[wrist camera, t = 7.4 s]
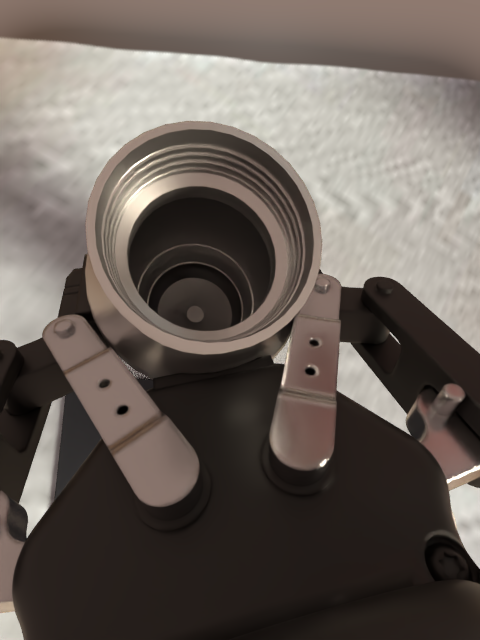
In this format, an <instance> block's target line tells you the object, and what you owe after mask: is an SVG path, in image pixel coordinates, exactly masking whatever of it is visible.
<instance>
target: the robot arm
mask: <svg viewBox="0 0 480 640" xmlns="http://www.w3.org/2000/svg"><path fill="white" fill-rule="evenodd" d="M86 261H87V254H86V255H85V257H84V262H83V268H79V269H74V270H73V271H72V272H71V273H70V274H69V276H68V277H67V278H66V283H65V288H64V291H63V296H62V300H61V305H60V309H59V314H58V318H57V319H55V320H53V321H51V322H50V323H49V324H48V325H47V326H46V327H45V329H44V330H43V334H42V338H40V339H38V340H36V341H34V342H31V343H29V344H26V345H24V346H21V347H18V348H17V347H16V346H15V344H14V343H12V342H11V341H7V340H0V613H6V612H13V611H15V613H16V615H17V618H18V621H19V623H20V626H21V629H22V633H23V637H24V640H480V569H479V568H478V566H477V565H476V564H475V563H474V561H473V560H472V559H471V557H470V556H469V554H468V553H467V551H466V550H465V548H464V546H463V544H462V542H461V539H460V537H459V534H458V532H457V529H456V526H455V523H454V519H453V515H452V510H451V505H450V496H449V491H450V490H452V489H455V488H457V487H459V486H461V485H464V484H466V483H467V484H469V485H471V486H474V487H478V488H480V354H479V353H478V352H477V351H476V350H475V349H473V348H472V347H471V346H470V345H469V344H468V343H467V342H466V341H464V340H463V339H462V338H461V337H460V336H459V335H458V334H456V333H455V332H454V331H453V330H452V329H451V328H450V327H448V326H447V325H446V324H445V323H444V322H443V321H442V320H441V319H439V318H438V317H437V316H436V315H435V314H434V313H433V312H431V311H430V310H429V309H428V308H427V307H426V306H425V305H424V304H422V303H421V302H420V301H419V300H418V299H417V298H416V297H414V296H413V295H412V294H411V293H410V292H409V291H408V290H407V289H405V288H404V287H403V286H402V285H401V284H400V283H398V282H397V281H395V280H393V279H390V278H386V277H373V278H370V279H368V280H367V281H366V282H365V284H364V287H363V288H349V287H342V286H341V284H340V282H339V281H338V280H337V279H336V278H334V277H332V276H330V275H326V274H323V273H322V272H321V270H320V269H319V272H318V275H317V278H316V282H315V285H314V287H313V289H312V291H311V293H310V295H309V297H308V299H307V300H306V302H305V304H304V306H303V307H302V308H301V309H300V310H299V313H298V314H296V315H295V317H294V322H293V327H292V332H291V336H290V341H289V346H288V351H287V356H286V361H285V365H284V364H274V362H273V360H272V357H271V355H269V356H264V357H259V358H256V359H255V360H252V361H250V362H247V363H245V364H243V365H240V366H238V367H234V368H230V369H226V370H222V371H218V372H214V373H199V374H195V373H177V374H172V375H167V376H162V377H157V378H153V388H151V389H149V390H147V391H145V390H144V389H143V387H142V386H141V385H140V384H139V382H138V381H137V380H136V378H135V377H134V376H133V375H132V373H131V372H130V371H129V369H128V368H127V367H126V366H125V364H124V363H123V362H122V360H121V359H120V358H119V357H118V355H117V354H116V353H115V351H114V350H113V349H112V348H111V346H110V345H109V344H108V343H107V342H106V340H105V339H104V338H103V336H102V334H101V332H100V330H99V328H98V326H97V325H96V323H95V321H94V319H93V316H92V312H91V309H90V305H89V302H88V299H87V289H86V276H85V268H86ZM390 332H391V333H392V334H393V335H394V336H395V337H396V338H397V339H398V341H399V343H400V344H399V343H398V342H397V341H396V340H395V339H394V338H393V337H392V336H391V335H390ZM340 342H350V343H351V344H352V346H353V347H354V348H355V350H356V351H357V352H358V353H359V355H360V356H361V357H362V358H363V360H364V361H365V362H366V363H367V365H368V366H369V367H370V368H371V370H372V371H373V372H374V373H375V375H376V376H377V377H378V378H379V380H380V381H381V382H382V383H383V385H384V386H385V387H386V388H387V390H388V391H389V392H390V393H391V395H392V396H393V397H394V398H395V400H396V401H397V402H398V403H399V405H400V406H401V407H402V408H403V410H404V411H405V412H406V413H407V417H406V425H407V428H408V430H409V432H410V434H411V435H412V436H411V435H409V434H407V433H406V432H404V431H402V430H401V429H399V428H397V427H396V426H394V425H393V424H391V423H389V422H388V421H386V420H384V419H383V418H381V417H379V416H378V415H376V414H374V413H373V412H371V411H369V410H368V409H366V408H365V407H363V406H361V405H360V404H358V403H356V402H355V401H353V400H351V399H350V398H348V397H346V396H345V395H343V394H341V393H340V392H338V391H337V390H336V388H337V373H338V358H339V343H340ZM73 391H74V392H75V393H76V395H77V397H78V398H79V400H80V402H81V403H82V405H83V407H84V408H85V410H86V412H87V413H88V415H89V417H90V418H91V420H92V422H93V423H94V425H95V427H96V428H97V430H98V432H99V434H100V435H101V437H102V438H101V440H100V441H99V442H98V444H97V445H96V446H95V448H94V449H93V450H92V452H91V453H90V454H89V456H88V457H87V458H86V460H85V461H84V462H83V464H82V465H81V466H80V468H79V469H78V470H77V472H76V473H75V474H74V476H73V477H72V478H71V480H70V481H69V482H68V484H67V485H66V486H65V488H64V489H63V490H62V492H61V493H60V494H59V496H58V497H57V498H56V500H55V501H54V502H53V503H52V505H51V506H50V507H49V509H48V510H47V511H46V513H45V514H44V515H43V517H42V518H41V519H40V521H39V522H38V523H37V525H36V526H35V527H34V529H33V530H32V532H31V533H30V535H29V536H28V538H26V530H27V524H28V516H27V512H26V510H25V509H24V508H23V507H22V506H21V505H20V504H19V501H20V498H21V495H22V492H23V489H24V486H25V483H26V480H27V477H28V474H29V471H30V468H31V464H32V461H33V458H34V455H35V452H36V449H37V446H38V443H39V440H40V437H41V434H42V431H43V428H44V425H45V422H46V419H47V415H48V412H49V409H50V406H51V403H52V401H54V400H56V399H58V398H60V397H63V396H65V395H67V394H69V393H71V392H73Z"/></svg>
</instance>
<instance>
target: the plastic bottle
mask: <svg viewBox="0 0 480 640" xmlns="http://www.w3.org/2000/svg"><path fill="white" fill-rule="evenodd" d="M85 227H86V240H87V249H88V253H87V261H86V268H85V276H86V289H87V299H88V302H89V305H90V309H91V312H92V316H93V319H94V321H95V323H96V325H97V326H98V328H99V330H100V332H101V334H102V336H103V338H104V339H105V340H106V342H107V343H108V344H109V345H110V346H111V348H112V349H113V350H114V351H115V353H116V354H117V355H118V356H119V357H120V358H122V359H123V360H124V361H125V362H126V363H128V364H129V365H130V366H131V367H132V368H134V369H135V370H136V371H138V372H140V373H142V374H144V375H146V376H147V377H149V378H151V379H153V378H157V377H162V376H167V375H172V374H177V373H195V374H199V373H214V372H218V371H222V370H226V369H230V368H234V367H238V366H240V365H243V364H245V363H247V362H250V361H252V360H255V359H256V358H259V357H264V356H269V355H271V357H272V360H273V359H274V358H275V357H276V356H277V354H278V353H279V352H280V351H281V350H282V348H283V347H284V346H285V344H286V342H287V341H288V339H289V337H290V335H291V332H292V327H293V322H294V317H295V315H296V314H298V313H299V310H300V309H301V308H302V307H303V306H304V304H305V302H306V300H307V299H308V297H309V295H310V293H311V291H312V289H313V287H314V285H315V282H316V278H317V275H318V272H319V268H320V263H321V252H322V237H321V227H320V221H319V218H318V214H317V211H316V207H315V204H314V201H313V199H312V197H311V195H310V193H309V191H308V189H307V187H306V185H305V183H304V182H303V180H302V179H301V178H300V176H299V175H298V174H297V172H296V171H295V170H294V168H293V167H292V166H291V164H290V163H289V162H288V161H286V160H285V159H284V158H283V157H282V156H281V155H280V154H279V153H278V152H277V151H276V150H275V149H274V148H272V147H271V146H269V145H268V144H266V143H264V142H263V141H261V140H260V139H258V138H257V137H255V136H253V135H251V134H249V133H246V132H244V131H242V130H239V129H237V128H234V127H231V126H227V125H222V124H218V123H213V122H201V121H185V122H178V123H172V124H166V125H163V126H160V127H157V128H155V129H152V130H149V131H147V132H144V133H142V134H141V135H139V136H138V137H136V138H134V139H133V140H131V141H130V142H128V143H127V144H125V145H124V146H123V147H122V148H121V149H120V150H119V151H118V152H117V153H116V154H115V155H114V156H113V157H112V158H111V159H110V160H109V161H108V162H107V164H106V165H105V167H104V169H103V170H102V172H101V173H100V175H99V176H98V178H97V179H96V182H95V185H94V187H93V190H92V193H91V196H90V198H89V201H88V208H87V215H86V223H85Z"/></svg>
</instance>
